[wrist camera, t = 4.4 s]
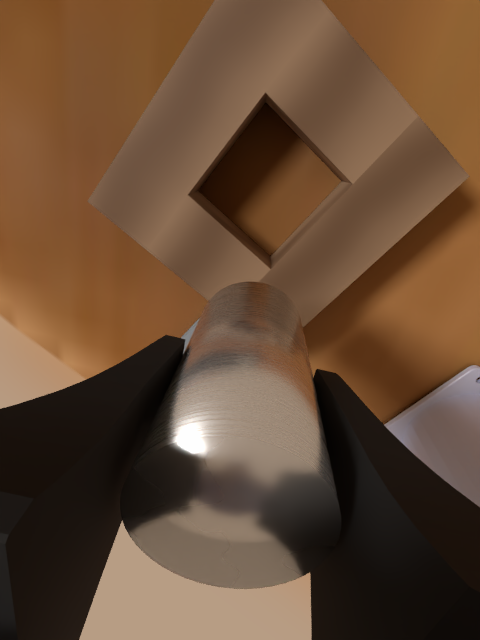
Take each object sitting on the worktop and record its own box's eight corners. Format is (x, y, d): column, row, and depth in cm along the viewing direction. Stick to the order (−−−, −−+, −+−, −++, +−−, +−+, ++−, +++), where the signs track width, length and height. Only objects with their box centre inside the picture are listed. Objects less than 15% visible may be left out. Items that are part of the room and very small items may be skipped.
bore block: (442, 174, 17) (469, 176, 15) (272, 333, 21) (273, 354, 19) (261, -35, 14) (260, -73, 12) (109, 196, 18) (87, 201, 16)
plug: (324, 329, 13) (389, 529, 6) (252, 389, 15) (236, 611, 7) (247, 259, 12) (216, 393, 5) (180, 330, 14) (79, 516, 6)
